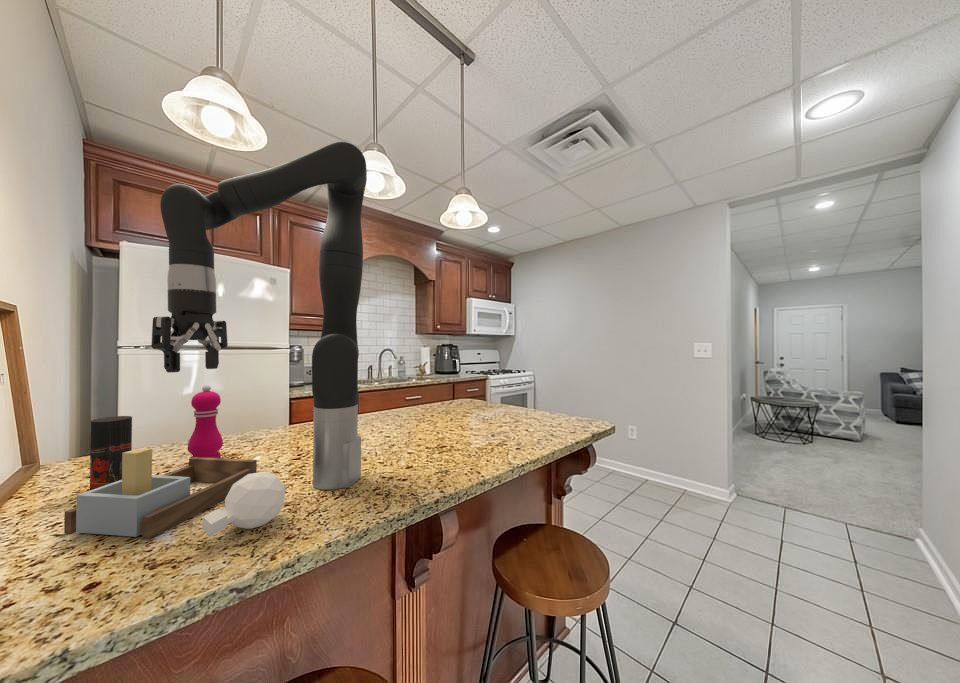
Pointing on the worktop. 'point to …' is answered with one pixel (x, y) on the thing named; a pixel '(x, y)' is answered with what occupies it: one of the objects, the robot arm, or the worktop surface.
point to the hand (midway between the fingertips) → (193, 370)
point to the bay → (181, 510)
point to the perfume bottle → (248, 503)
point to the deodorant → (108, 449)
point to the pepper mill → (205, 425)
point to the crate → (128, 497)
